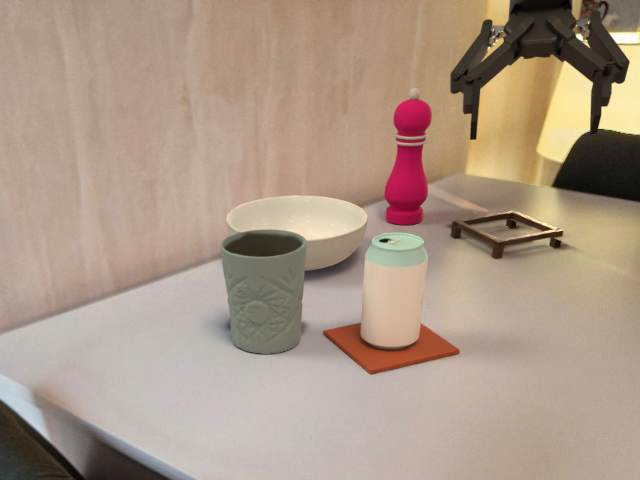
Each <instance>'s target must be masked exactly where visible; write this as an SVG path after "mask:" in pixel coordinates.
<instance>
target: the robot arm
mask: <svg viewBox="0 0 640 480" xmlns="http://www.w3.org/2000/svg"><path fill="white" fill-rule="evenodd" d="M573 5H574V0H509V5H508V6H509V7H508V18H507V19H508V20H507V21H506V23H505V24H504V25H493V24H494V23H493V19H490V18H487V19H485V20H483V22H482V24H481V29H480V33H479V34H478V35H477V37H476V38H475V39H474V41H473V42H472V43H471V45H470V46H469V48H468V49H467V50H466V51H465V53H464V54H463V55H462V57H461V59H460V60H459V61H458V63H457V64H456V65H455V66H454V68H453V70H452V71H451V72H450V77H449V79H450V80H449V93H451V94H453V95H456V94H459V93H462V94H463V98H462V113H463V115H471V116H470V129H469V130H470V131H469V141H476V140H477V137H478V124H479V114H480V113H479V111H480V103H481V90H482V88H483V87H485V86H486V85H487V84H489V82H490V81H492V80H493V79H494V78H495V77H496V76H497V75H498V74H499V73H501V72H502V71H503V70H504V69H505V68H506V67H508V66H512V65H514V64H515V63H517V61H518V60H520V58H523V59H524V60H530V59H534V58H542V59H544V58H545V59H546V58H551V56H553V57H555V58H556V59H558V60H559V61H560V62H561V63H564V62H566V63H567V64H569V66H571V67H572V68H574V70H576V71H578V73H580V75H582V76H584V78H586V79H587V80H589V82H591V83H592V86H591V90H590V117H589V125H590V126H589V135H597V134H598V131H599V126H600V123H601V118H602V109H603V108H605V107H608V106H609V104H610V101H611V98H612V92H613V91H612V90H613V84H617V85H622V84H623V83H625V81H626V79H627V74H628V70H629V68H630V62H631V61H630V59H629V58H628V57H627V56H626V54H625V52H624V51H623V50H622V48H621V47H620V46H619V44H618V43H617V42H616V40H615V39H614V38H613V36H612V35H611V34H610V32H609V31H608V30H607V28H606V26H604V24H603V23H602V15H601V11H600V10H597V9H594V10H591V11H590V12H589V16H588V17H584V18H578V19H576V16H575V15H574V14H573V7H574V6H573ZM576 33H578V34H579V35H580V36H581V37H582V40H583V41H584V42H585V41H586V42H587V44H588V45H587V44H586V43H584V42H583V41H581V40H580V39H579V38H578V37H577V34H576ZM501 39H503V42H502V43H501V44H500V45H498V47H497V48H496V49H494V50H493V51H492V52H490V54H489V55H488V53H489V51H490V48H494V47H495V44H496V43H497V42H498V40H501Z"/></svg>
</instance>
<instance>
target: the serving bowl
mask: <svg viewBox="0 0 640 480" xmlns="http://www.w3.org/2000/svg"><path fill="white" fill-rule="evenodd" d="M368 220H369V217H368V214H367V212H366V211H365V210H364V209H363V208H362V207H360V206H358V205H356V204H355V203H352V202H349V201H347V200H343V199H339V198H334V197H328V196H319V195H281V196H272V197H271V196H270V197H264V198H259V199H255V200H250V201H247V202H245V203H241V204H239V205H238V206H236V207H234V208H232V209H231V210H230V211H229V212H228V213H227V216H226V221H225V222H226V227H227V232H228V235H229V236H231V235H233V234H236V233H240V232H245V231H251V230H267V229H271V230H284V231H290V232H294V233H297V234H300V235H301V236H303V237H304V238H305V239H306V241H307V249H306V261H305V271H304V272H306V271H307V272H308V271H316V270H321V269H325V268H328V267H331V266H334V265H337V264H339V263H341V262H343V261H344V260H346V259H347V258H349V257H350V256H352V255H353V254H354V252H355V251H356V250H357V249H358V247H359V246H360V245H361V243H362V241H363V239H364V236H365V235H366V231H367V226H368ZM229 236H228V237H229Z"/></svg>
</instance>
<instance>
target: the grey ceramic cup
mask: <svg viewBox="0 0 640 480" xmlns="http://www.w3.org/2000/svg"><path fill="white" fill-rule="evenodd" d="M219 249H220V258H221V262H222V269H223V278H224V281H225V282H224V283H225V288H226V293H227V304H228V310H229V311H228V312H229V316H230V331H231V340H232V343H233V342H234V343H233V345H234V344H235V345H236V346H235V345H234V346H235V347H236V348H237V347H239V348H241V349H243V350H242V351H244V350H245V351H244V352H246V351H250V352H254V353H253V354H255V353H261V354H260V355H272V354H271V353H275V354H280V353H279V352H281V353H284V352H283V351H285V352H287V350H288V351H290V350H292V349H294V348H295V347H297V345H298V344H300V341H301V338H302V319H303V298H304V291H305V290H304V289H305V272H306V271H305V261H306V249H307V241H306V239H305V238H304V237H303V236H301V235H300V234H297V233H294V232H290V231H284V230H271V229H267V230H251V231H245V232H240V233H236V234H233V235H231V236H227V237H225V238H223V240H222V241H221V242H220V244H219ZM293 347H294V348H293ZM239 348H238V349H239ZM291 348H292V349H291ZM241 349H240V350H241ZM250 352H249V353H250Z"/></svg>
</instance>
